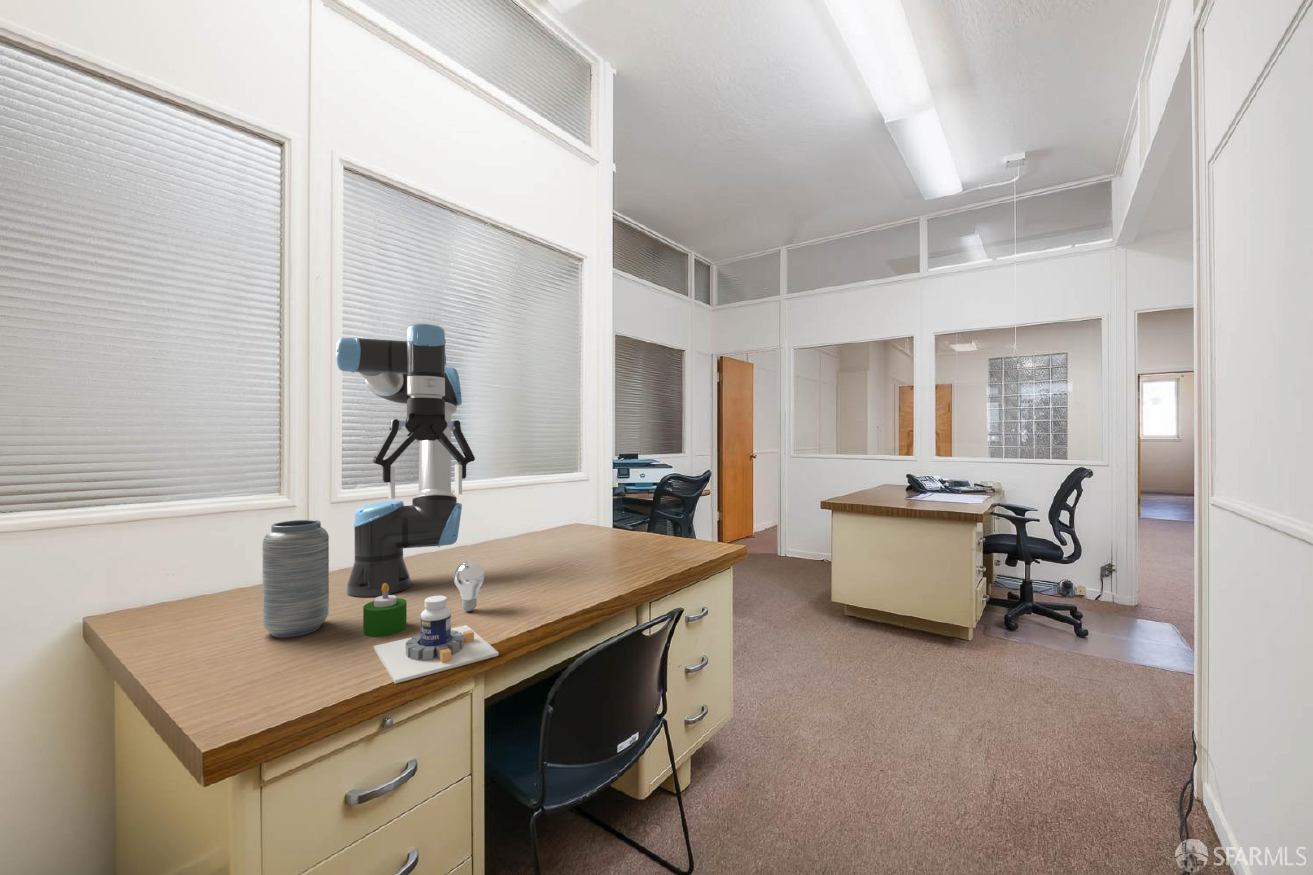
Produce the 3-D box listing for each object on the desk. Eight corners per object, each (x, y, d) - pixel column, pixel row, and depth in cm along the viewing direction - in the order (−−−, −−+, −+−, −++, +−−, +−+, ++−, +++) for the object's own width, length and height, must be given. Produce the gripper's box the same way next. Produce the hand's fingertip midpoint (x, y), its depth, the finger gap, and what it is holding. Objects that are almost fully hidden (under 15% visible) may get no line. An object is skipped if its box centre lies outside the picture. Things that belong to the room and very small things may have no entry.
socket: (373, 648, 102) (373, 636, 102) (466, 627, 113) (466, 616, 113) (395, 683, 88) (395, 669, 88) (498, 655, 99) (498, 642, 99)
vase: (337, 619, 118) (337, 518, 118) (313, 638, 107) (313, 527, 107) (281, 621, 116) (281, 519, 116) (250, 642, 105) (249, 528, 105)
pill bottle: (416, 655, 98) (415, 603, 98) (426, 643, 103) (426, 594, 103) (445, 654, 98) (445, 602, 98) (454, 642, 103) (454, 593, 103)
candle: (415, 624, 115) (414, 579, 115) (387, 638, 107) (387, 590, 107) (382, 621, 117) (382, 576, 117) (353, 634, 109) (353, 587, 109)
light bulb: (474, 617, 119) (474, 565, 119) (447, 615, 121) (447, 563, 121) (490, 607, 126) (490, 558, 126) (464, 605, 128) (464, 556, 127)
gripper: (364, 393, 102) (364, 502, 102) (489, 399, 117) (489, 493, 117) (357, 395, 107) (357, 498, 108) (477, 400, 123) (477, 490, 123)
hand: (426, 496), depth 112 cm, fingers open, 13 cm apart
